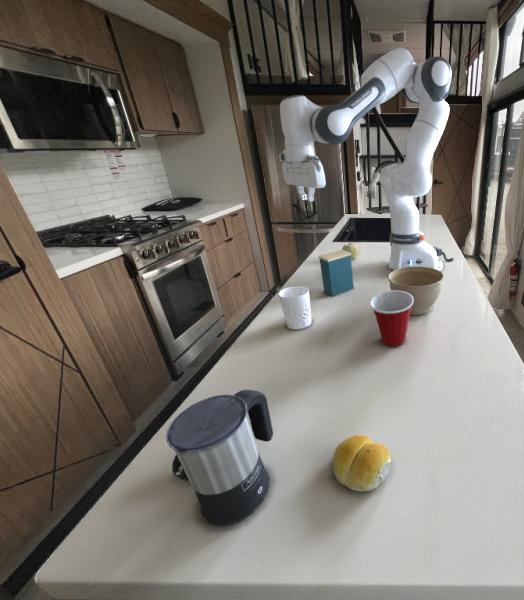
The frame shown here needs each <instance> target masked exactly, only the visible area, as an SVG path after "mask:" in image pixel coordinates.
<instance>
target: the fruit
mask: <svg viewBox="0 0 524 600" xmlns="http://www.w3.org/2000/svg"><path fill="white" fill-rule="evenodd" d="M342 250H344V251H347V252H350V253H351V260H355V259H357V258H359V255H360V247H359V245H358V244H356V243H354V242H349V243H346V244H344V245H343V247H342Z"/></svg>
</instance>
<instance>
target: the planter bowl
mask: <svg viewBox="0 0 524 600" xmlns="http://www.w3.org/2000/svg"><path fill="white" fill-rule="evenodd" d="M387 280H388V282H389V289H390V291H392V290H399V291H405V292H407V293H409V294H411V295H412V296H413V298H414V303H413V305H412V307H411V311H410V315H413V316H417V315H424V314H427V313H429V312H431V310H432V309H433V306H434V304H435V303H436V302H437V301H438V299H439V297H440V295H441V292H442V288H443V282H444V273H443V272H442V270H440V271H439V270H437V269H434V268H430V267H423V266H411V267H404V268H400V269H397V270H392V271H391V272H390V273H389V274H388V279H387Z"/></svg>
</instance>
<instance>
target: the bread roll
mask: <svg viewBox="0 0 524 600" xmlns="http://www.w3.org/2000/svg"><path fill="white" fill-rule="evenodd" d="M391 458H392V455H391V452H390V451H389V449H388V448H387V447H386V446H385V445H384V444H383V443H378V442H373V441H372V439H371V438H370V437H369V436H367V435H363V434H355V435H351V436H349V437H347V438H345V439H344V440H343V441H342V442H340V443H339V445H338V446H336V449H335V451H334V452H333V457H332V470H333V473H334V477H335V478H336V480H337V482H338V483H340V484H341V485H343V486H345V487H347V488H348V489H350V490H351V491H355V492H370V491H372V490H374V489H376V488H378V487H379V485H380V484H381V483H382V482H383V481H384V480H385V478H386V477H387V475H388V474H389V472H390V470H391V468H392V459H391Z"/></svg>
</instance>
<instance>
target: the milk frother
mask: <svg viewBox="0 0 524 600" xmlns="http://www.w3.org/2000/svg"><path fill="white" fill-rule="evenodd" d="M267 399H268V398H267V397H266V395H265V394H264V393H263V392H261V391H258V390H254V389H242V390H239V391H237V392H235V393H234V394H218V395H213V396H210V397H207V398H204V399H202V400H199V401H197V402H194V403H193V404H191V405H190V406H188V407H187V408H185V409H183V411H181V412H180V413H179V414H178V415H177V416H176V417H175V418H174V419H173V420H172V421H171V423H170V424H169V426H168V428H167V430H166V434H165V435H166V436H165V441H166V443H167V445H168V447H169V448H171V449H172V450H173V451H174V452H175V456H174V458H173V460H172V465H171V467H172V468H171V469H172V473H173V475H174V476H175V477H176V478H178V479H179V480H182V481H188V482H189V483H190V485H191V488H192V490H193V492H194V493H195V496H196V498H197V500H198V503H199V506H200V508H199V509H200V513H201V516H202V518H203V519H204V521H205V522H207V523H208V524H210V525H213V526H217V527H226V526H230V525H233V524H236V523H239V522H240V521H241V522H242V520H244V519H246V518H247V517H249V516H250V515H252V513H254V512H255V511H256V510H257V509H258V508H259V507H260V506H261V504H262V503H263V501H264V500H265V498H266V496H267V494H268V492H269V489H270V484H271V483H270V482H271V481H270V475H269V472H268V470H267V469H266V468H265V465H264V463H263V460H262V457H261V454H260V453H259V448H258V446H257V442H256V440H259V441H262V442H266V443H267V442H271V440H272V438H273V436H274V431H273V425H272V420H271V415H270V410H269V404H268V400H267ZM248 418H249V419H248ZM249 421H250V422H249Z"/></svg>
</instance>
